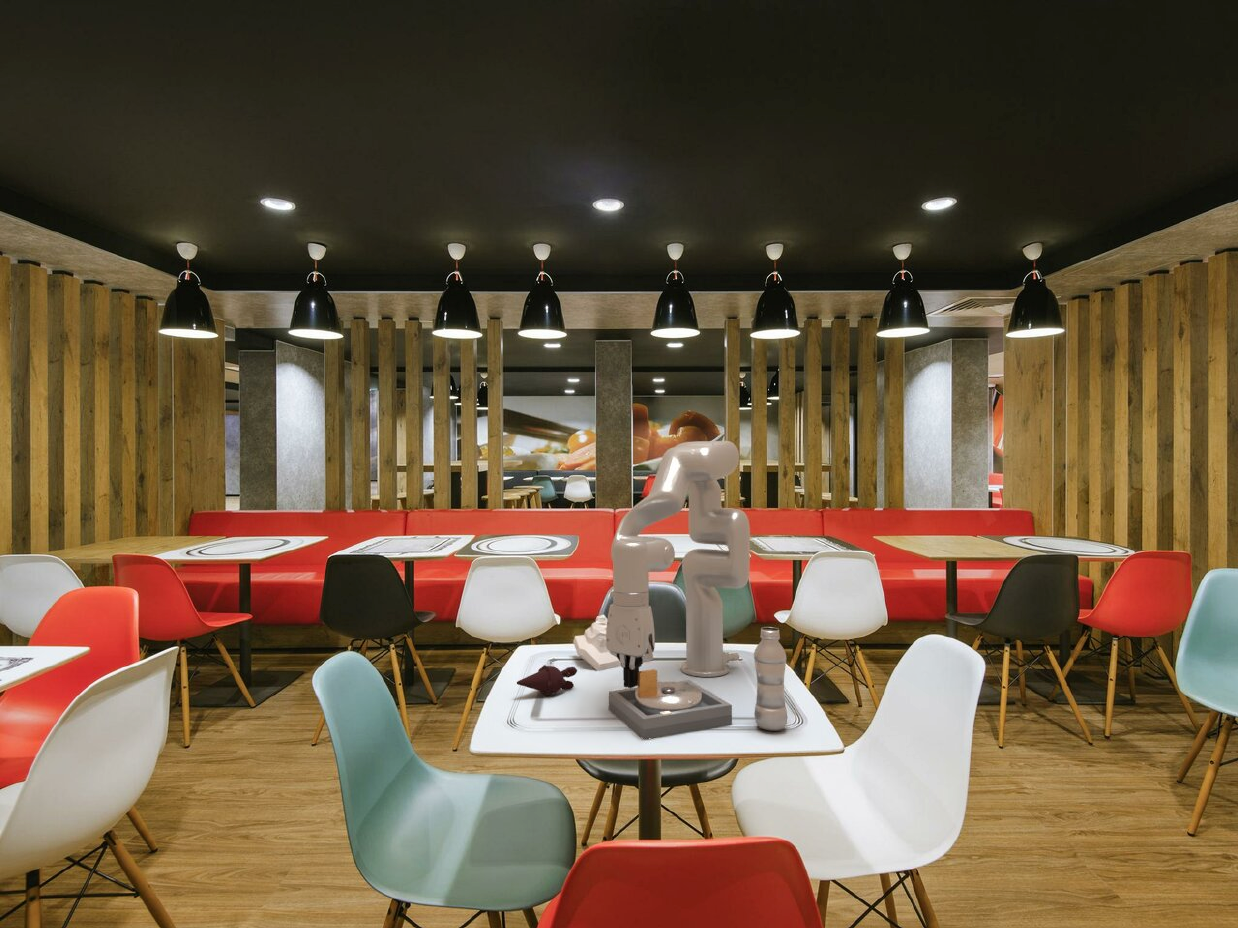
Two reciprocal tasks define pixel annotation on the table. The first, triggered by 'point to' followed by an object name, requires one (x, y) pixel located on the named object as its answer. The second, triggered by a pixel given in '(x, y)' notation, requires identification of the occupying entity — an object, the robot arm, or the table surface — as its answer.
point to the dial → (664, 694)
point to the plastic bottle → (770, 681)
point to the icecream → (549, 680)
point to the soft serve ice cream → (596, 646)
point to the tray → (670, 714)
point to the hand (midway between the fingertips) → (631, 685)
